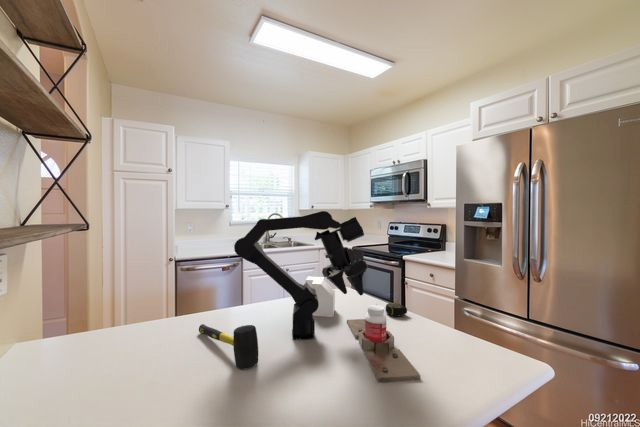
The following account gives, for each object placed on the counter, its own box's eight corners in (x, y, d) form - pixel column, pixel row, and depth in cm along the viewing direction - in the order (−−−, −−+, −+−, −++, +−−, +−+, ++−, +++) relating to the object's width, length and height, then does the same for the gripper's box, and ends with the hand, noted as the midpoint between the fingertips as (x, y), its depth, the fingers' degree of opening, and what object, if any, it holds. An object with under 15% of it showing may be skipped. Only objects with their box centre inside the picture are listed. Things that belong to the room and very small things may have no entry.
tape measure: (408, 316, 103) (408, 306, 102) (394, 319, 99) (394, 309, 99) (395, 310, 109) (395, 300, 109) (381, 313, 105) (381, 303, 105)
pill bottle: (385, 352, 76) (385, 312, 76) (363, 348, 78) (363, 310, 78) (386, 341, 82) (387, 305, 82) (366, 338, 84) (366, 303, 84)
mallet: (191, 336, 85) (191, 305, 85) (210, 330, 89) (210, 301, 89) (242, 375, 65) (242, 335, 65) (263, 365, 70) (263, 327, 69)
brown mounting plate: (420, 379, 64) (420, 366, 64) (379, 382, 63) (379, 369, 63) (374, 321, 97) (374, 313, 97) (346, 322, 96) (346, 314, 96)
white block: (308, 305, 113) (308, 276, 113) (335, 306, 111) (335, 277, 111) (302, 315, 102) (303, 283, 102) (332, 317, 101) (333, 284, 101)
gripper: (370, 234, 82) (390, 283, 82) (339, 242, 98) (356, 282, 98) (341, 249, 77) (363, 300, 76) (313, 254, 93) (331, 297, 92)
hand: (353, 294), depth 86 cm, fingers open, 9 cm apart
